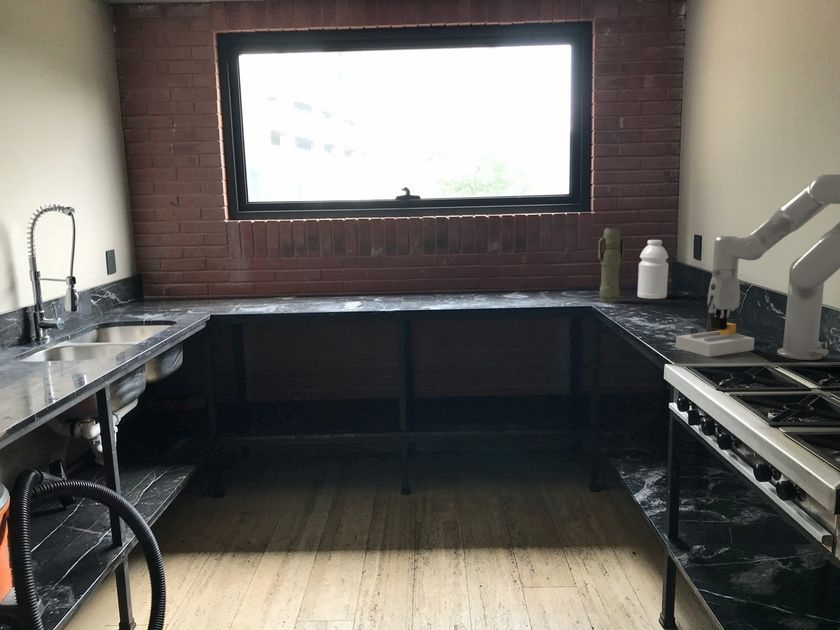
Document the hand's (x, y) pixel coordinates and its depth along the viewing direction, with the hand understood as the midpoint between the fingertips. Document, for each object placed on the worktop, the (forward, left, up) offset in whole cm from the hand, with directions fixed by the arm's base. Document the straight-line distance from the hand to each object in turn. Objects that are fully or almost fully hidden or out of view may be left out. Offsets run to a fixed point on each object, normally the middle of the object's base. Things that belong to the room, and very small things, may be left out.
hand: (720, 329), depth 224 cm
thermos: (+93, -32, -7) cm, 99 cm away
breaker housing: (0, +2, -6) cm, 7 cm away
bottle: (+95, -60, -7) cm, 112 cm away
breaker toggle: (0, -3, -2) cm, 4 cm away
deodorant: (+14, -14, -7) cm, 21 cm away
